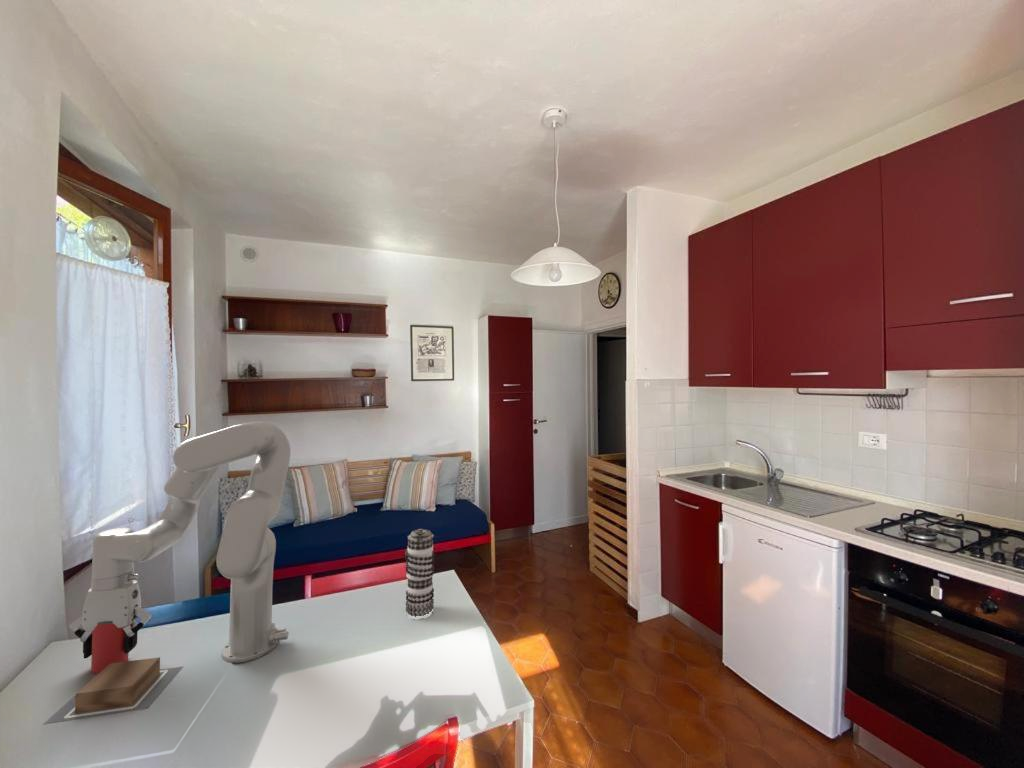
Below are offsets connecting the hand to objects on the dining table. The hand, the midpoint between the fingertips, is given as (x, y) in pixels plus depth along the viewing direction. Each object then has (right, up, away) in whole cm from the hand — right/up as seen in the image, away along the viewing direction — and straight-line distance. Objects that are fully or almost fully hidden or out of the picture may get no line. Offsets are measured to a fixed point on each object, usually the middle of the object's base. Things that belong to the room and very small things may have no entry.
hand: (110, 652), depth 101 cm
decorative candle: (+71, -5, +25) cm, 76 cm away
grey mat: (+12, -3, -10) cm, 15 cm away
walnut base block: (+12, -3, -10) cm, 15 cm away
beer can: (0, -4, 0) cm, 4 cm away
